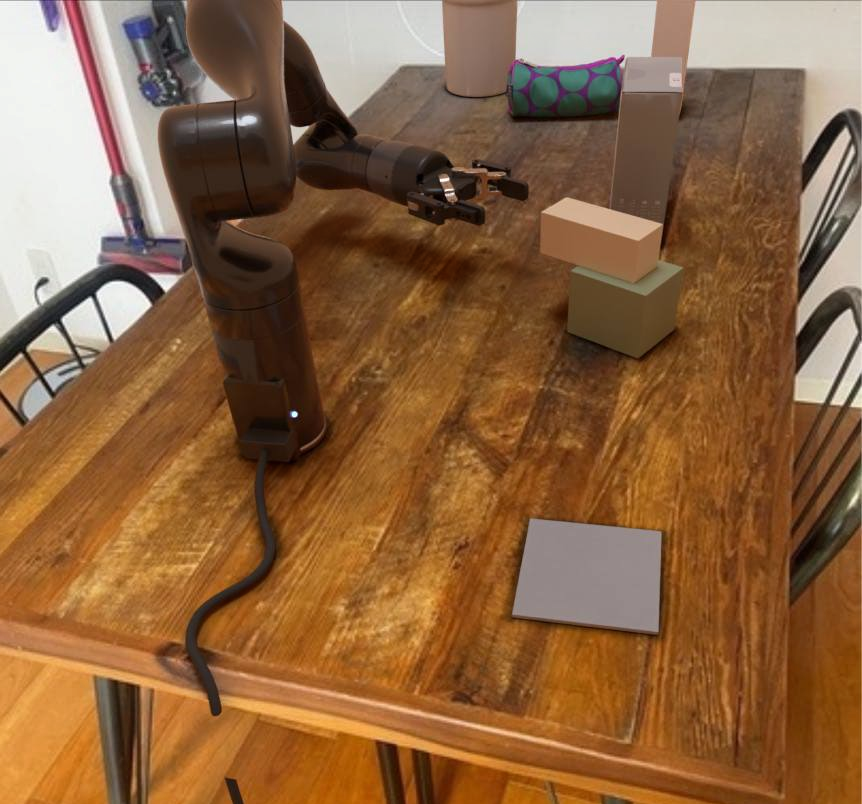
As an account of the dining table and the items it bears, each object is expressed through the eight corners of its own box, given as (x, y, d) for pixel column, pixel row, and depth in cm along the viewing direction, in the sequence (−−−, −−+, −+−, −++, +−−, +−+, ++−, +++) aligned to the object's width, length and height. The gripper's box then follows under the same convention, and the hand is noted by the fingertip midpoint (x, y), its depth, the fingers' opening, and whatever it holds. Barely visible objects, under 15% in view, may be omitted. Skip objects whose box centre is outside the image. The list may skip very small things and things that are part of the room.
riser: (566, 332, 104) (570, 270, 98) (604, 305, 108) (609, 244, 102) (637, 358, 99) (645, 295, 93) (674, 329, 103) (684, 267, 97)
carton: (539, 253, 102) (540, 211, 98) (564, 237, 104) (566, 196, 101) (633, 283, 95) (638, 240, 92) (657, 266, 98) (663, 223, 94)
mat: (657, 635, 70) (658, 632, 69) (511, 617, 72) (511, 614, 72) (661, 534, 78) (661, 531, 78) (530, 521, 80) (530, 518, 80)
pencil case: (505, 125, 156) (505, 67, 149) (507, 108, 162) (507, 52, 156) (621, 121, 154) (627, 62, 147) (618, 104, 160) (623, 47, 153)
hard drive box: (661, 248, 118) (683, 92, 104) (605, 246, 119) (619, 92, 105) (663, 201, 129) (682, 54, 115) (611, 200, 130) (624, 54, 116)
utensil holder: (483, 70, 180) (481, -28, 168) (533, 84, 171) (535, -18, 159) (429, 88, 174) (423, -13, 161) (478, 104, 165) (476, -1, 153)
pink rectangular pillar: (648, 108, 158) (662, -34, 143) (681, 108, 156) (700, -34, 141) (644, 119, 154) (659, -25, 139) (678, 120, 152) (697, -26, 137)
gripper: (367, 164, 107) (467, 194, 98) (443, 129, 114) (541, 154, 105) (374, 222, 112) (469, 255, 104) (445, 185, 119) (539, 213, 111)
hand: (505, 204), depth 104 cm, fingers open, 8 cm apart
